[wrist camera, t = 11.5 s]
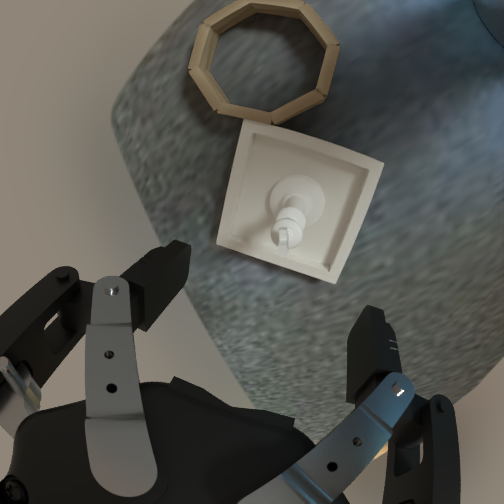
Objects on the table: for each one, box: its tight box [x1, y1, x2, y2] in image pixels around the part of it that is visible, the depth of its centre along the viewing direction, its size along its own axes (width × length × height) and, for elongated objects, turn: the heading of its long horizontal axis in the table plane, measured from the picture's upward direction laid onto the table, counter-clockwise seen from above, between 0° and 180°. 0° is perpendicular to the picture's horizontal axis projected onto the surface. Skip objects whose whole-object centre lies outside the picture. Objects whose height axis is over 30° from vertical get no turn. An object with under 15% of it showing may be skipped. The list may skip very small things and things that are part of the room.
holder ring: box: [188, 0, 340, 125], centre depth 18 cm, size 12×12×2 cm
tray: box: [216, 119, 384, 284], centre depth 24 cm, size 12×12×2 cm
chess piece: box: [270, 174, 325, 257], centre depth 19 cm, size 5×5×10 cm
